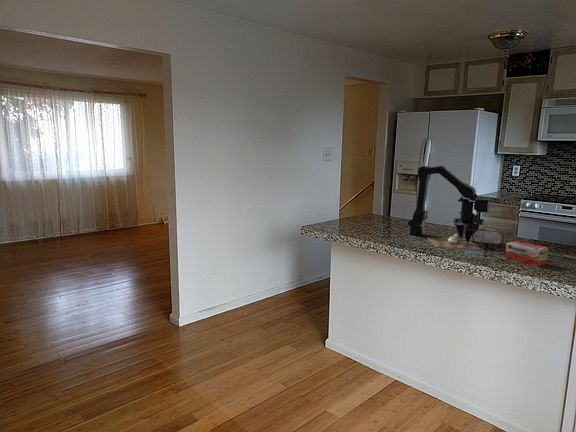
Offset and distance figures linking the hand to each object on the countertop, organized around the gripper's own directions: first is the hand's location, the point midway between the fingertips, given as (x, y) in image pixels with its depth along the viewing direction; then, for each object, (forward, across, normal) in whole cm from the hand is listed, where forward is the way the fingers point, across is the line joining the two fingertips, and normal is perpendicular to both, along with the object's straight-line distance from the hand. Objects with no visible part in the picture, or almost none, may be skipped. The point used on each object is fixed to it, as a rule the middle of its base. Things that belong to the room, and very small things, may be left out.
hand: (464, 239), depth 219 cm
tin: (+3, 0, -12) cm, 12 cm away
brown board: (+2, -3, +7) cm, 8 cm away
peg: (+1, 0, +5) cm, 5 cm away
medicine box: (+3, -30, -16) cm, 34 cm away
